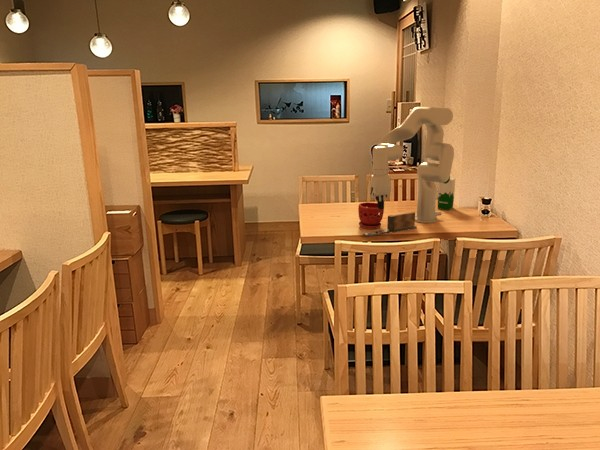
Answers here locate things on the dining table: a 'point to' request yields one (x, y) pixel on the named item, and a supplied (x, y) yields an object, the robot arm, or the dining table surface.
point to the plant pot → (370, 215)
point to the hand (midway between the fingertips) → (380, 208)
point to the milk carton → (446, 194)
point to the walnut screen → (401, 221)
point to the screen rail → (387, 231)
